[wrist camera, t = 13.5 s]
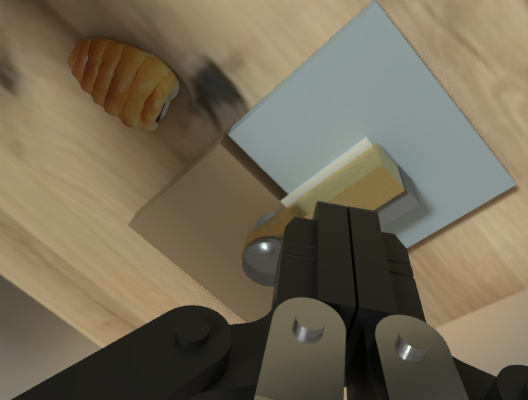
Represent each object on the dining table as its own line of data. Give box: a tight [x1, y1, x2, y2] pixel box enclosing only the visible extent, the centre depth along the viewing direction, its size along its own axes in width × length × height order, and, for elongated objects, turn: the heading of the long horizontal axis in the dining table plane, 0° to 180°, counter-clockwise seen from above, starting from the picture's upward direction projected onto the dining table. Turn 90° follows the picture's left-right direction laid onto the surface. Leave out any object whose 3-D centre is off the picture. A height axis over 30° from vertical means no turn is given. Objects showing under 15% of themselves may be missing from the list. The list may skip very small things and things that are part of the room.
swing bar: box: [240, 143, 405, 287], centre depth 39 cm, size 16×5×5 cm, turn 133°
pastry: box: [68, 37, 179, 132], centre depth 39 cm, size 9×7×4 cm
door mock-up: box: [128, 0, 517, 323], centre depth 42 cm, size 20×31×6 cm, turn 134°
